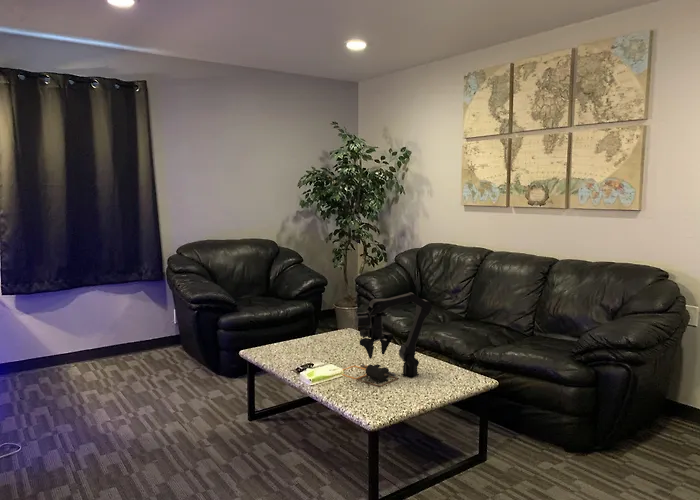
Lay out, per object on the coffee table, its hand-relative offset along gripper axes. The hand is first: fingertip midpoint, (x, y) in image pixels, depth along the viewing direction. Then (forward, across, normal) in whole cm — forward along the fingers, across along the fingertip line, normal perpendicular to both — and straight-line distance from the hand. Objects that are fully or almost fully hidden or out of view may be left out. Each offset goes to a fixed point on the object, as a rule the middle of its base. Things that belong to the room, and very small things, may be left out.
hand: (376, 356), depth 256 cm
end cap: (+12, +1, +1) cm, 12 cm away
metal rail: (+11, -8, -6) cm, 15 cm away
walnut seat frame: (+11, +1, +2) cm, 11 cm away
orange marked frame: (+11, +2, -14) cm, 18 cm away
